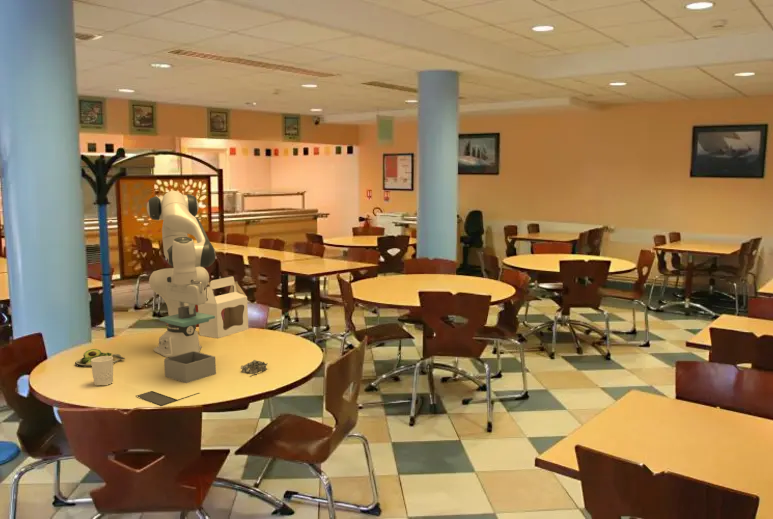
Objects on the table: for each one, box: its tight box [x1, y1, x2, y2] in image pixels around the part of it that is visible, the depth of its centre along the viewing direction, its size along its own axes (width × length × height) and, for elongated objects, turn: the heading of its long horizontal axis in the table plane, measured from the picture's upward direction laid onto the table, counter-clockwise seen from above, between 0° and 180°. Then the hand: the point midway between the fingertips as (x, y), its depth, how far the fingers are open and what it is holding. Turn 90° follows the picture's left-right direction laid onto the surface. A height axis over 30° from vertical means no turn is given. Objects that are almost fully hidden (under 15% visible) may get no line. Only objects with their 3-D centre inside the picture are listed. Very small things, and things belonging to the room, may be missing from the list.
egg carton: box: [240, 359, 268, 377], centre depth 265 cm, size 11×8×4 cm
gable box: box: [197, 275, 249, 339], centre depth 329 cm, size 22×13×28 cm, turn 149°
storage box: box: [163, 351, 217, 384], centre depth 259 cm, size 14×14×8 cm
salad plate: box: [74, 348, 126, 367], centre depth 281 cm, size 19×18×5 cm
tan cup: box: [91, 356, 114, 386], centre depth 251 cm, size 8×8×10 cm
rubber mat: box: [136, 390, 200, 407], centre depth 238 cm, size 16×16×1 cm
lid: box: [159, 305, 215, 327], centre depth 255 cm, size 15×15×6 cm
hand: (187, 313), depth 255 cm, fingers closed on lid, 3 cm apart
